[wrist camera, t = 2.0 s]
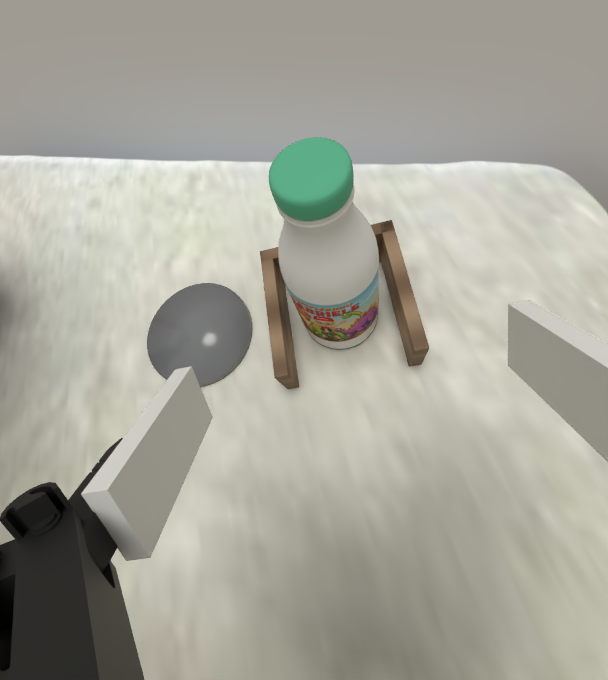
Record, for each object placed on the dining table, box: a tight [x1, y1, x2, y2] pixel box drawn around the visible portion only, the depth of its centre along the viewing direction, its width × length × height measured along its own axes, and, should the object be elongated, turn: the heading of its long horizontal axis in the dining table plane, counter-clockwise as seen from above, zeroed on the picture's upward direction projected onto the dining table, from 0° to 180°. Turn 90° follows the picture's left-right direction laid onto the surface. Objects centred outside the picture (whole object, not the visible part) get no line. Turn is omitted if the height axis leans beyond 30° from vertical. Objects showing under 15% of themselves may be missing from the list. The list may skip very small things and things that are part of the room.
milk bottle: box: [269, 138, 379, 349], centre depth 28 cm, size 8×8×20 cm
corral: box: [260, 220, 429, 389], centre depth 34 cm, size 13×13×5 cm
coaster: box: [147, 283, 252, 387], centre depth 39 cm, size 12×12×1 cm
